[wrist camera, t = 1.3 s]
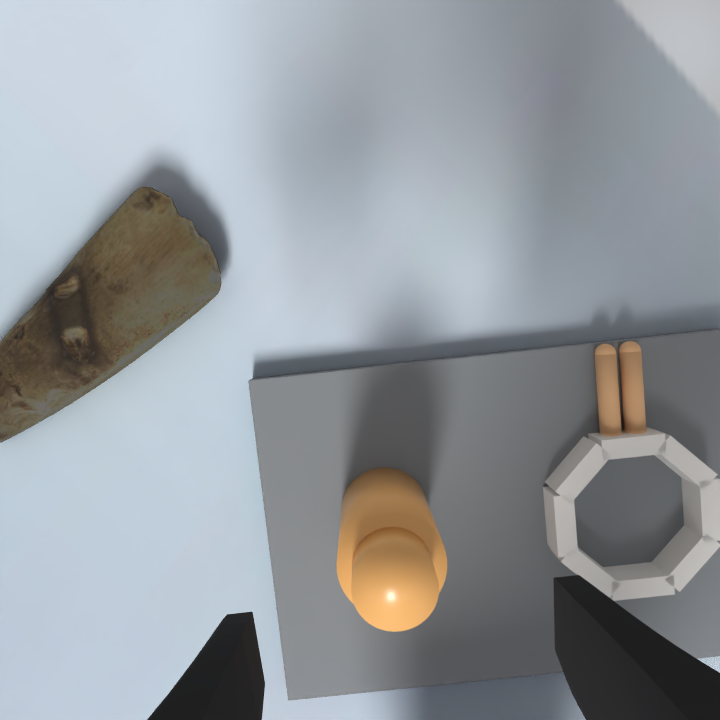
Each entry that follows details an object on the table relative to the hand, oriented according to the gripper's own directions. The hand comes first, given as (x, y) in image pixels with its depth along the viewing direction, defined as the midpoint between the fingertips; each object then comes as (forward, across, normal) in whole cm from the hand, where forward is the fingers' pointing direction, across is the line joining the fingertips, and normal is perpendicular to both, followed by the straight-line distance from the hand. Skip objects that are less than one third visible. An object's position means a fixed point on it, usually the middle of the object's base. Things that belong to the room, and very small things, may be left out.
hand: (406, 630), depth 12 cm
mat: (+10, -5, +3) cm, 12 cm away
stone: (+12, +12, -7) cm, 18 cm away
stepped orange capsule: (+9, 0, +2) cm, 10 cm away
